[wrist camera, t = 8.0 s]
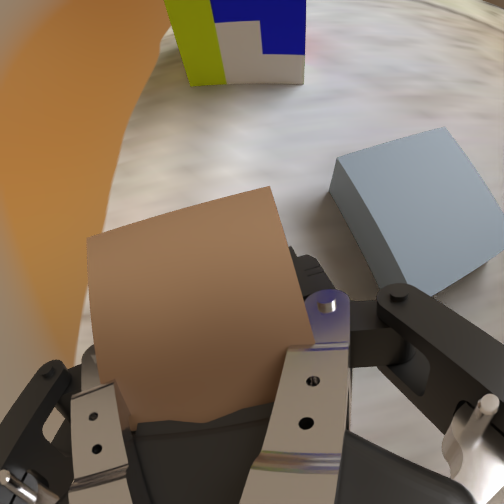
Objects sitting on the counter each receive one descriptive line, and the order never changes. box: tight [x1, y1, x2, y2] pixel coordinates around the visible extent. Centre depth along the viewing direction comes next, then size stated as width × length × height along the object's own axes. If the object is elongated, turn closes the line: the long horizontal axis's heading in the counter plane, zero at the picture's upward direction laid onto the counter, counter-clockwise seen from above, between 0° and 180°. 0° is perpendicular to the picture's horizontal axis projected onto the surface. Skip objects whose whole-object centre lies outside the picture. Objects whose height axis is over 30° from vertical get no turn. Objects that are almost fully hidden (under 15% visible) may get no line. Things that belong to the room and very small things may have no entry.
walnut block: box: [87, 186, 315, 431], centre depth 11 cm, size 5×5×10 cm
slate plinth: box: [329, 127, 504, 296], centre depth 17 cm, size 9×9×4 cm
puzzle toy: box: [164, 0, 306, 87], centre depth 21 cm, size 10×10×10 cm
